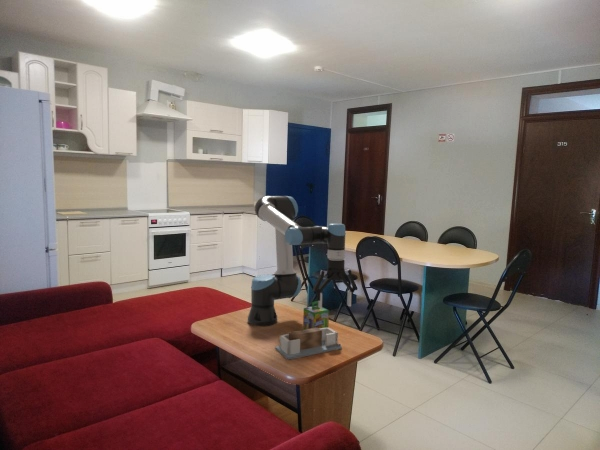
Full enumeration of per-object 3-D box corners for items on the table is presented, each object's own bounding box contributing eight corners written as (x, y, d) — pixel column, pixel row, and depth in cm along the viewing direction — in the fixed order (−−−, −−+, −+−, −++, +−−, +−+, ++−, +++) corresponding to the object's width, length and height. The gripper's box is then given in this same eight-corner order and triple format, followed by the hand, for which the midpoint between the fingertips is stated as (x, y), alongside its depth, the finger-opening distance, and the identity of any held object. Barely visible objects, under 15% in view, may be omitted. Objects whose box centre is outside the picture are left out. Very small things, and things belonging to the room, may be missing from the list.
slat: (292, 351, 166) (293, 335, 166) (288, 348, 170) (288, 332, 169) (321, 346, 173) (322, 330, 172) (316, 342, 176) (317, 327, 176)
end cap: (316, 340, 179) (317, 328, 178) (327, 338, 181) (327, 327, 181) (326, 347, 172) (326, 334, 171) (337, 344, 174) (337, 332, 174)
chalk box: (313, 337, 186) (314, 306, 185) (302, 331, 193) (302, 301, 192) (329, 333, 191) (330, 303, 190) (317, 327, 199) (318, 298, 197)
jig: (275, 348, 171) (275, 334, 171) (326, 339, 184) (327, 325, 183) (287, 359, 161) (288, 344, 160) (341, 348, 173) (342, 334, 173)
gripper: (311, 261, 167) (310, 311, 169) (365, 259, 174) (364, 307, 176) (306, 258, 175) (305, 306, 176) (358, 256, 181) (357, 302, 183)
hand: (334, 306), depth 176 cm, fingers open, 13 cm apart
